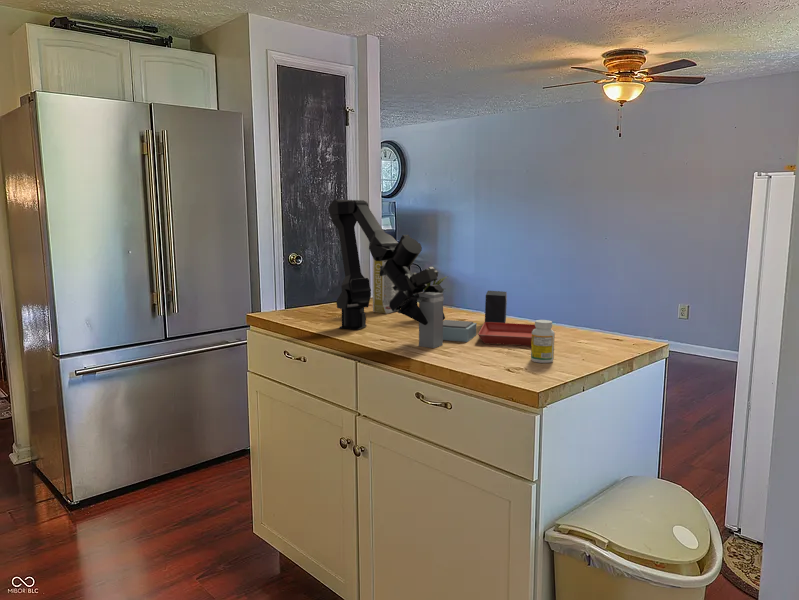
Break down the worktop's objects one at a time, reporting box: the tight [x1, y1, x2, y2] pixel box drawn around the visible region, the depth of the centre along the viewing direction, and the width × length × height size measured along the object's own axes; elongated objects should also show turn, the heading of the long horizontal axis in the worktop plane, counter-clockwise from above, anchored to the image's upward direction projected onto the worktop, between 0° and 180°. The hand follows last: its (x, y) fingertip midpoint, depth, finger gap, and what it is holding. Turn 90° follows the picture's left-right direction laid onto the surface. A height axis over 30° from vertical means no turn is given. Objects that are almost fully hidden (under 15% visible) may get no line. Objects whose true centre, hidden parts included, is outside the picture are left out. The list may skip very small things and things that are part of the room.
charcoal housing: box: [418, 292, 445, 349], centre depth 160 cm, size 5×5×14 cm
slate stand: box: [443, 319, 478, 343], centre depth 171 cm, size 10×10×4 cm
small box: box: [484, 290, 508, 323], centre depth 189 cm, size 11×6×10 cm, turn 168°
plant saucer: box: [477, 321, 536, 347], centre depth 168 cm, size 18×18×3 cm
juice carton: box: [372, 257, 399, 314], centre depth 214 cm, size 9×8×24 cm
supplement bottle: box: [530, 319, 556, 364], centre depth 144 cm, size 5×5×10 cm
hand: (435, 321), depth 159 cm, fingers open, 8 cm apart
